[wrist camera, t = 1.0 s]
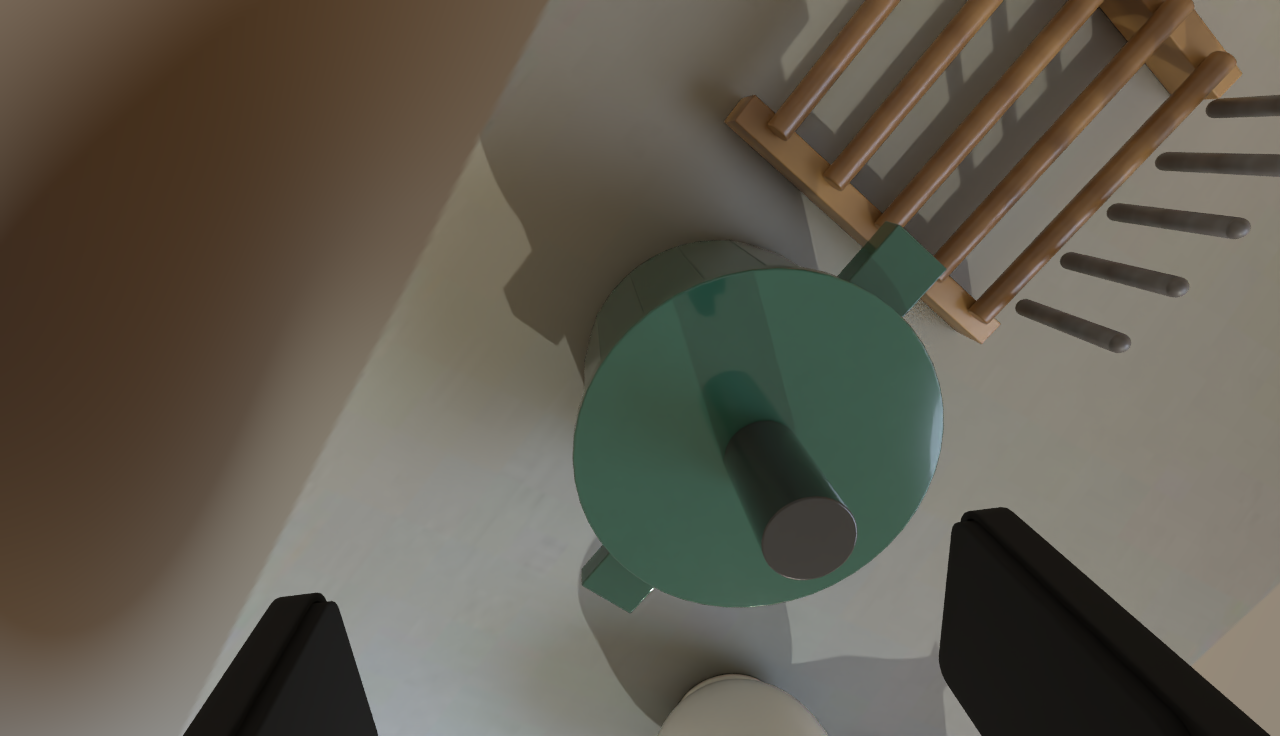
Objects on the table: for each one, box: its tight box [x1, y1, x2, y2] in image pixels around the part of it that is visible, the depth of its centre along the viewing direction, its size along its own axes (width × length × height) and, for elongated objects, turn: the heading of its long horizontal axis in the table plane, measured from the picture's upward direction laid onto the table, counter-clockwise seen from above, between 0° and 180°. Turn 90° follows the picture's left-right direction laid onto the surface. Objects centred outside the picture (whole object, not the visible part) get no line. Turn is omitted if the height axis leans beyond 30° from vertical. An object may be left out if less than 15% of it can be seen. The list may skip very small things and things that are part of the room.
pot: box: [582, 221, 947, 613], centre depth 26 cm, size 12×17×8 cm
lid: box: [573, 265, 944, 607], centre depth 20 cm, size 13×13×6 cm
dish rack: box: [724, 0, 1280, 353], centre depth 23 cm, size 15×14×8 cm
